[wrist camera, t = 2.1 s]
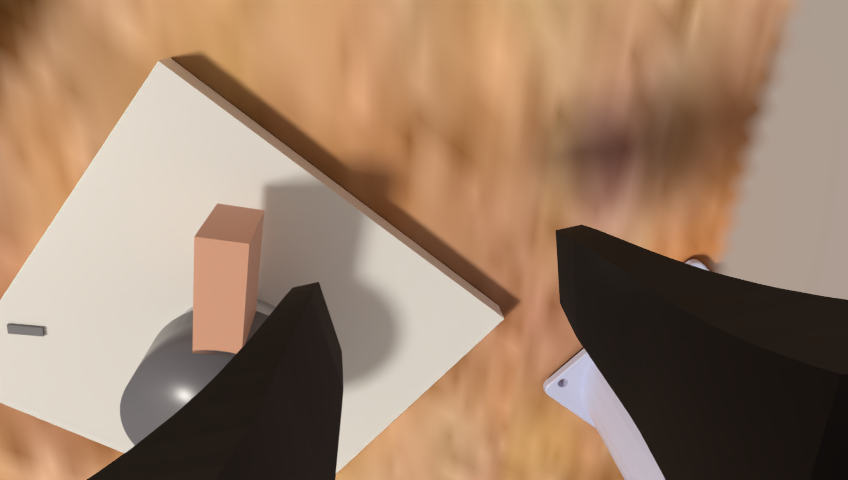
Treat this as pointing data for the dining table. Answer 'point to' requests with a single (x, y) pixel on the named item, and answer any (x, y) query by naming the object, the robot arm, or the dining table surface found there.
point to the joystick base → (174, 269)
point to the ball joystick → (201, 322)
